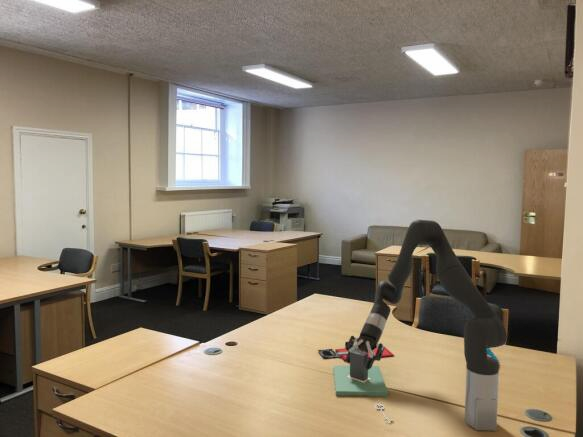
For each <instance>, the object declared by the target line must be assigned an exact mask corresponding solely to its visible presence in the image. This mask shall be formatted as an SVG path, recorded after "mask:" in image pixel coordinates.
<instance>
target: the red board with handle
mask: <svg viewBox="0 0 583 437" xmlns="http://www.w3.org/2000/svg"><path fill="white" fill-rule="evenodd" d="M347 343H348V341H345V346H344V348H335V351H334V349H332V348H328V349H327V348H326V349H318V350H317V351H318V353H319V354H320V355H321V357H322V358H324V359H326V358H334V357H335V358H340V359H341V360H342V361H343V362H346V356H347V354H348V351H347V350H346V349H345V347H346V345H347ZM357 348H358V347H357ZM373 351H374V354H375V355H376V352H377V348H375V349H374V350H373ZM361 352H362V351H361ZM364 353H366V352H364ZM375 355H374V356H375ZM392 357H395V354H393V353H392V352H391V351H390V350H389V349H388V348H387V347H385V346H384V351H383V353H382V356H381V359H382V358H392ZM369 358H370V355H369V353H368V359H369ZM346 363H347V362H346Z"/></svg>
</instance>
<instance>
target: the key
mask: <svg viewBox="0 0 583 437" xmlns="http://www.w3.org/2000/svg"><path fill="white" fill-rule="evenodd" d="M377 405H378V406H379V405H381V406H383V408H378V406H377ZM381 406H380V407H381ZM375 408H377V409H381V410H380V412H381V411H382V409H384V408H385V405H384V404H382V403H376V404H374V409H375ZM384 410H385V409H384ZM382 412H383V414H384V413H385V412H384V411H382ZM382 412H381V413H382ZM383 414H382V415H383ZM384 416H385V417H386V416H387V414H384ZM384 416H383V417H384ZM385 417H384V418H385ZM388 418H389V417H388V416H387V417H386V419H387V420H388ZM387 420H386V421H387ZM388 421H389V420H388ZM388 421H387V422H388ZM389 423H391V422H390V421H389ZM389 423H388V424H389Z"/></svg>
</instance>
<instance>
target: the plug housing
mask: <svg viewBox="0 0 583 437" xmlns="http://www.w3.org/2000/svg"><path fill="white" fill-rule="evenodd" d="M367 362H368V353H364V352H361V351H357V350H353V351H351V352H350V364H349V366H350V377H353V378H356V379H359V380H362V381H365V380H366V379H368V370H367V369H366V367H365V366H366V364H367Z"/></svg>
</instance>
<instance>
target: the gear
mask: <svg viewBox="0 0 583 437" xmlns="http://www.w3.org/2000/svg"><path fill="white" fill-rule="evenodd" d="M487 356H489V357H492V358H494V359H495V360H497V361H499V359H498V358H497V356H496V355H495V354H494V352H493V351H492V350H491V348H487Z"/></svg>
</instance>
